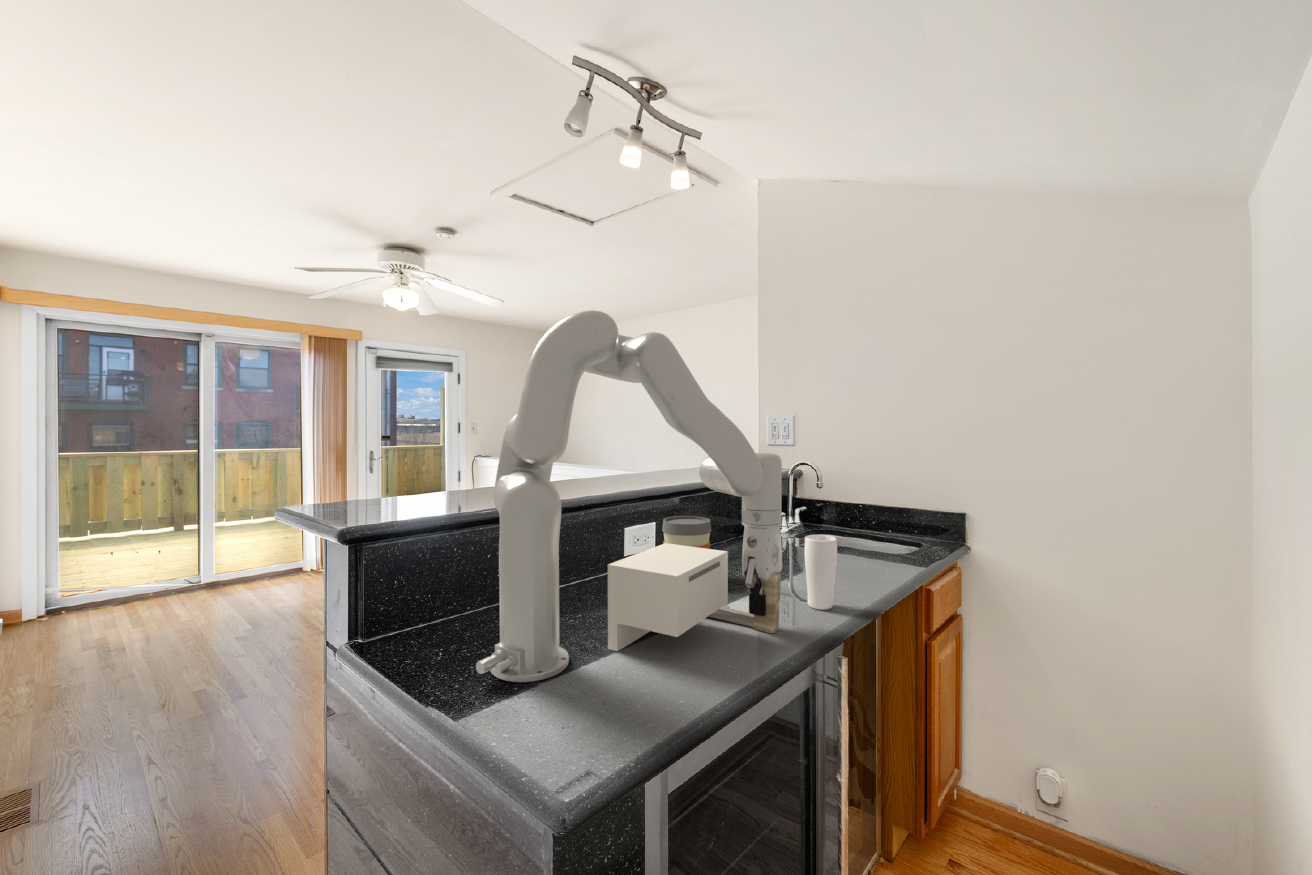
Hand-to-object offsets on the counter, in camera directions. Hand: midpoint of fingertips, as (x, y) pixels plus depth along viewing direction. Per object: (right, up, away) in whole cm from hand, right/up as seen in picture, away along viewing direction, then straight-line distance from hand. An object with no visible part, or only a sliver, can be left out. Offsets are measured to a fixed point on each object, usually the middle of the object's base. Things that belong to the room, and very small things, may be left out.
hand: (760, 610), depth 107 cm
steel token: (-7, -3, +9) cm, 12 cm away
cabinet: (-18, -4, -5) cm, 19 cm away
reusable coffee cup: (-12, -3, +34) cm, 37 cm away
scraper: (-5, -3, +3) cm, 7 cm away
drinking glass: (+15, -3, +13) cm, 20 cm away
